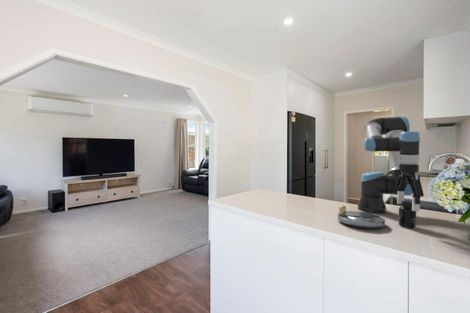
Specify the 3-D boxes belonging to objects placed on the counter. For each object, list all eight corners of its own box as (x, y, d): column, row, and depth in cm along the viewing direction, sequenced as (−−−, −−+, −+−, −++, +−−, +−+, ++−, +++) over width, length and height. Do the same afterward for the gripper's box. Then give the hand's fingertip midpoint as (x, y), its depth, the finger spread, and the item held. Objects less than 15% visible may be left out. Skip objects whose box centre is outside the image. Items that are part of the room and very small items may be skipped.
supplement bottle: (417, 229, 105) (417, 204, 104) (399, 227, 109) (399, 202, 108) (414, 225, 111) (415, 201, 110) (397, 222, 114) (398, 199, 114)
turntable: (374, 215, 122) (375, 203, 122) (393, 229, 102) (393, 214, 101) (333, 213, 126) (333, 201, 126) (343, 226, 106) (343, 211, 106)
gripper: (388, 162, 121) (387, 201, 122) (414, 165, 97) (413, 213, 97) (404, 162, 120) (403, 201, 120) (434, 165, 95) (433, 214, 96)
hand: (407, 207), depth 109 cm, fingers open, 13 cm apart
